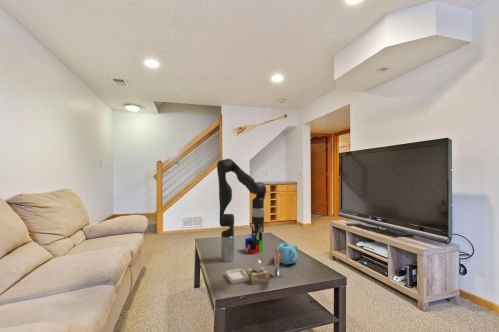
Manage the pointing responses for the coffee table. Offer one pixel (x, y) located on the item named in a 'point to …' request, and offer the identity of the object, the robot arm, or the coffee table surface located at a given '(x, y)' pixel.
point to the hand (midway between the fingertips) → (257, 242)
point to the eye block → (258, 275)
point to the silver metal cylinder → (257, 265)
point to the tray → (237, 276)
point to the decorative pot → (287, 253)
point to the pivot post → (277, 272)
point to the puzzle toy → (253, 246)
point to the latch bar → (277, 256)
